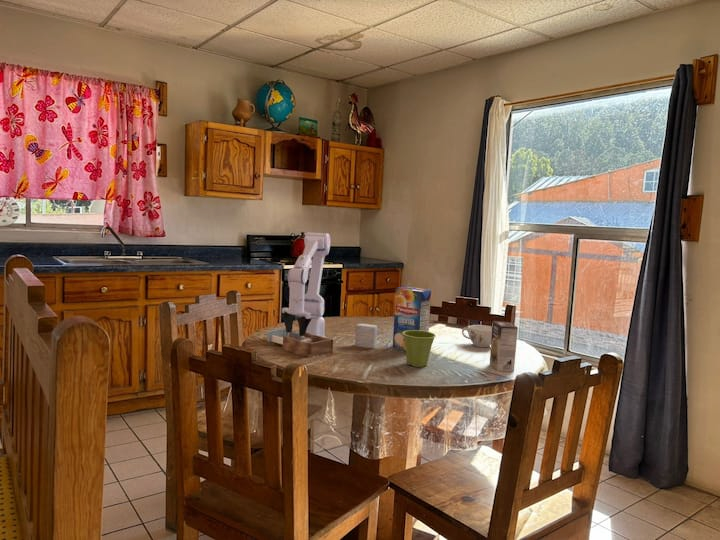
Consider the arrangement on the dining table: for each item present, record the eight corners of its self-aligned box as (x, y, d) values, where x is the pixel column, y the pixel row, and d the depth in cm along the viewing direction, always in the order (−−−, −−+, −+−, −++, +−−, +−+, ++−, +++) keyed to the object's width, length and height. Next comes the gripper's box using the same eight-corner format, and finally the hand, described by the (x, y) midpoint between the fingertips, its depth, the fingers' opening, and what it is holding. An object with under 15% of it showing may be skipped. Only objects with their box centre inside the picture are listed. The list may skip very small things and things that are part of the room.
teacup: (500, 345, 233) (501, 326, 232) (493, 351, 222) (495, 331, 221) (465, 340, 239) (466, 322, 238) (457, 345, 228) (458, 326, 227)
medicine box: (376, 346, 220) (378, 325, 219) (373, 349, 216) (374, 327, 215) (358, 344, 223) (359, 323, 222) (354, 346, 219) (355, 325, 218)
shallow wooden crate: (281, 349, 209) (282, 336, 208) (304, 344, 218) (305, 332, 217) (309, 357, 199) (310, 344, 198) (332, 352, 207) (333, 339, 207)
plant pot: (410, 370, 189) (412, 338, 187) (394, 361, 199) (396, 330, 198) (440, 368, 193) (442, 336, 192) (423, 359, 204) (425, 329, 203)
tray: (266, 341, 215) (267, 331, 214) (289, 337, 224) (290, 327, 223) (292, 348, 205) (292, 338, 204) (315, 344, 214) (315, 334, 213)
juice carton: (392, 347, 220) (395, 288, 218) (402, 344, 226) (405, 286, 224) (418, 352, 213) (421, 291, 211) (427, 349, 219) (431, 290, 216)
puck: (296, 339, 216) (297, 331, 216) (304, 342, 212) (304, 333, 212) (286, 341, 213) (286, 332, 212) (294, 343, 209) (294, 334, 209)
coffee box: (488, 364, 202) (491, 320, 200) (505, 364, 202) (509, 321, 201) (496, 371, 193) (500, 326, 191) (514, 371, 193) (518, 326, 191)
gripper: (276, 297, 213) (275, 331, 214) (301, 302, 203) (300, 338, 204) (290, 296, 218) (289, 329, 219) (315, 301, 208) (314, 336, 210)
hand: (295, 334), depth 212 cm, fingers open, 7 cm apart
